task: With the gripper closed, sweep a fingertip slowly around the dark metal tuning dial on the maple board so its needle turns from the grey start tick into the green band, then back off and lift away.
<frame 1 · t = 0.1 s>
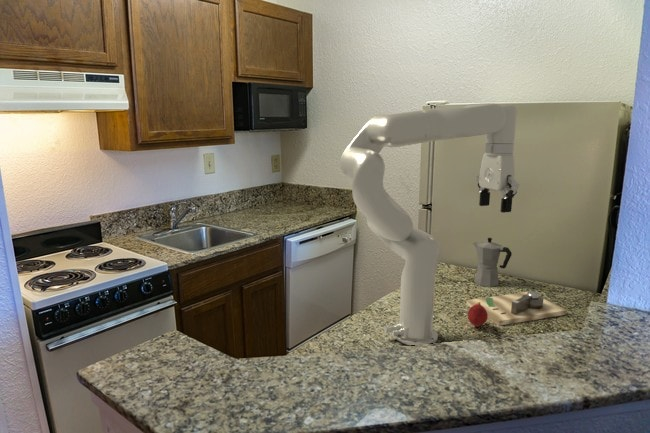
hand: (494, 208, 135), 37 cm above the worktop, tool pointing down, fingers open, 9 cm apart
onion: (476, 327, 142), on the worktop
tuner board: (515, 309, 155), on the worktop
coffeepot: (488, 284, 178), on the worktop
dial: (526, 302, 151), point 4 cm above the worktop, hinge at 0.0°
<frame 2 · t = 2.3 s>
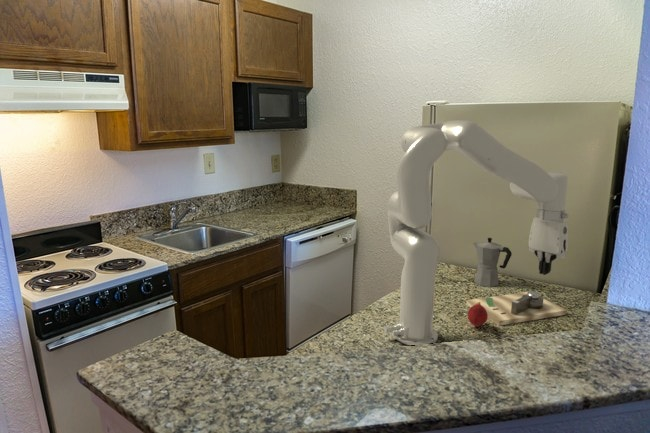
hand: (544, 273, 142), 16 cm above the worktop, tool pointing down, fingers closed
nothing on the worktop moved.
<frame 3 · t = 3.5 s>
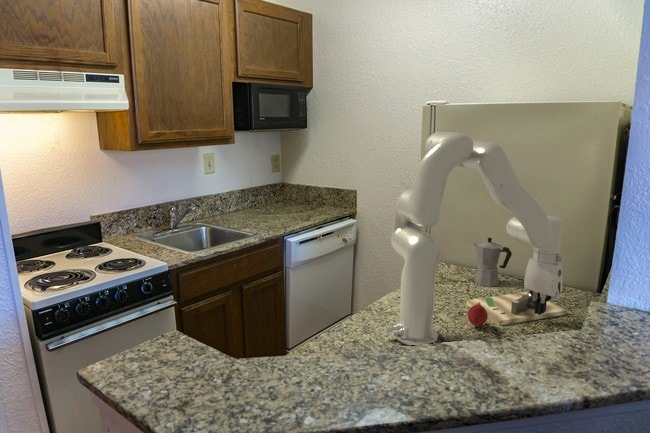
hand: (539, 313, 145), 3 cm above the worktop, tool pointing down, fingers closed
nothing on the worktop moved.
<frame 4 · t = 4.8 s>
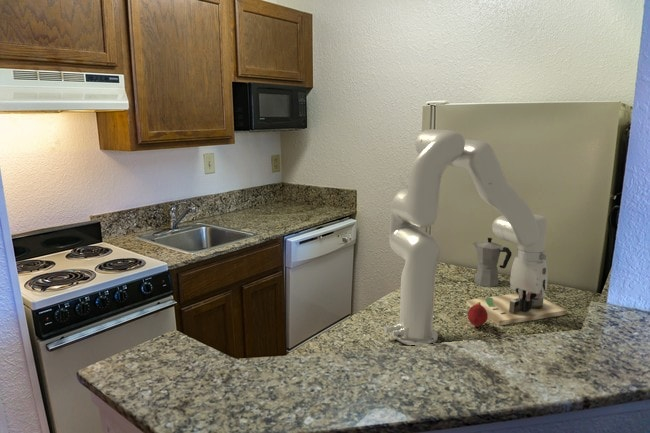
hand: (525, 310, 147), 3 cm above the worktop, tool pointing down, fingers closed
dial: (525, 301, 151), point 4 cm above the worktop, hinge at -3.6°, touching gripper
everything else where it was.
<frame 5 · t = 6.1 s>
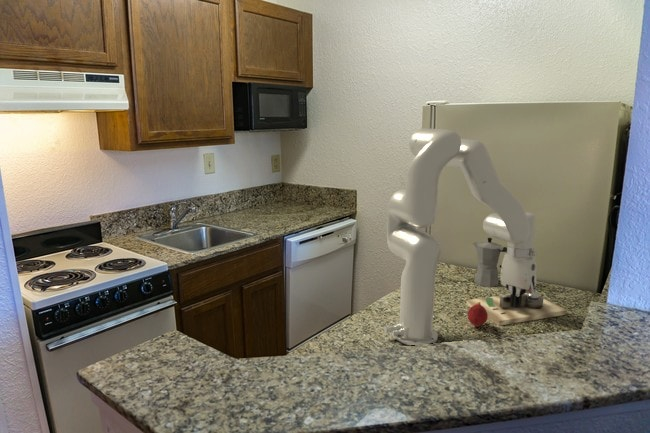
hand: (515, 305, 149), 3 cm above the worktop, tool pointing down, fingers closed
dial: (521, 299, 153), point 4 cm above the worktop, hinge at -26.3°, touching gripper
everything else where it was.
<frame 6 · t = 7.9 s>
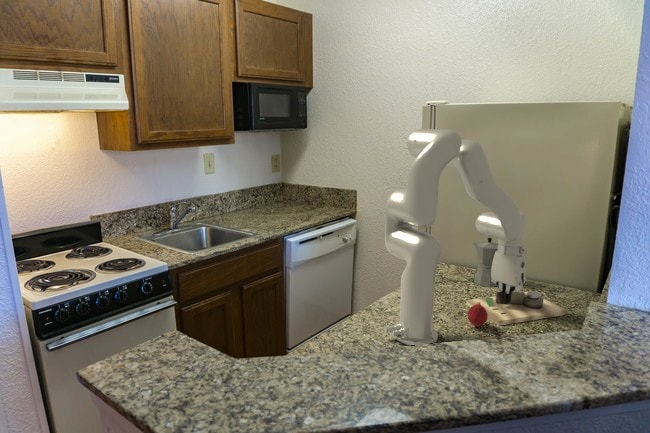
hand: (505, 302, 153), 3 cm above the worktop, tool pointing down, fingers closed
dial: (519, 297, 154), point 4 cm above the worktop, hinge at -50.4°
everything else where it was.
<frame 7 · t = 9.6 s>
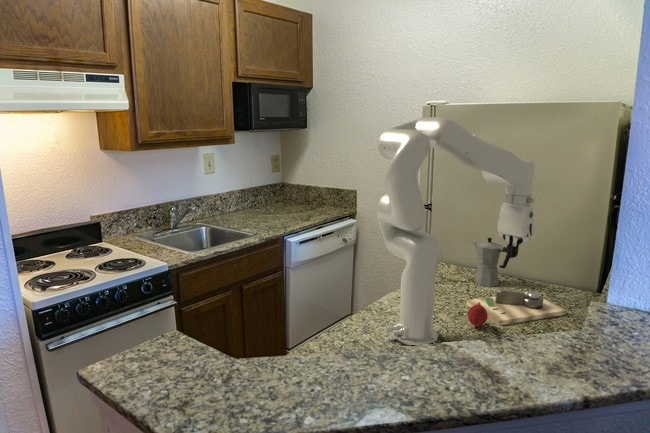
hand: (511, 256, 147), 19 cm above the worktop, tool pointing down, fingers closed
nothing on the worktop moved.
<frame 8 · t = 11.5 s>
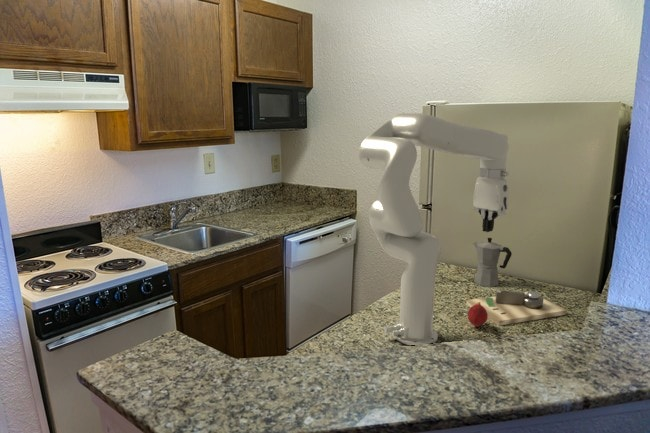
hand: (487, 230, 148), 27 cm above the worktop, tool pointing down, fingers closed
nothing on the worktop moved.
at the end: dial at -50° (first picture: +0°); the gripper is holding nothing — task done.
